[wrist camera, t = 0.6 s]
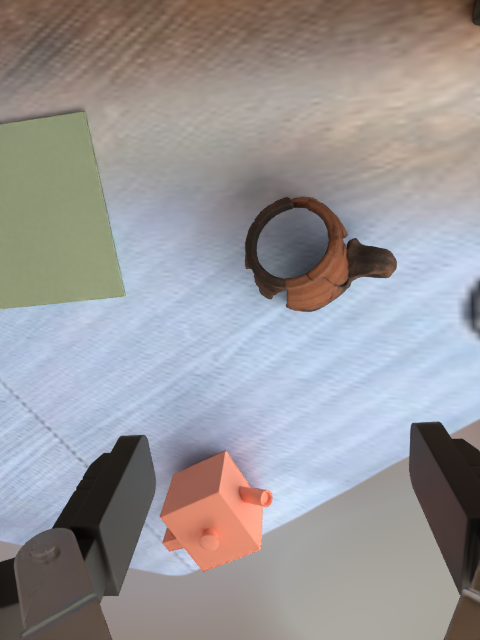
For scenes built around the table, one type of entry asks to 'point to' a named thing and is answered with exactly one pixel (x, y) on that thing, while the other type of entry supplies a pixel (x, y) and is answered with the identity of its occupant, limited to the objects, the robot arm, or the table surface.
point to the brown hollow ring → (330, 271)
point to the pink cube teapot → (214, 512)
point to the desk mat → (53, 216)
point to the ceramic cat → (477, 13)
